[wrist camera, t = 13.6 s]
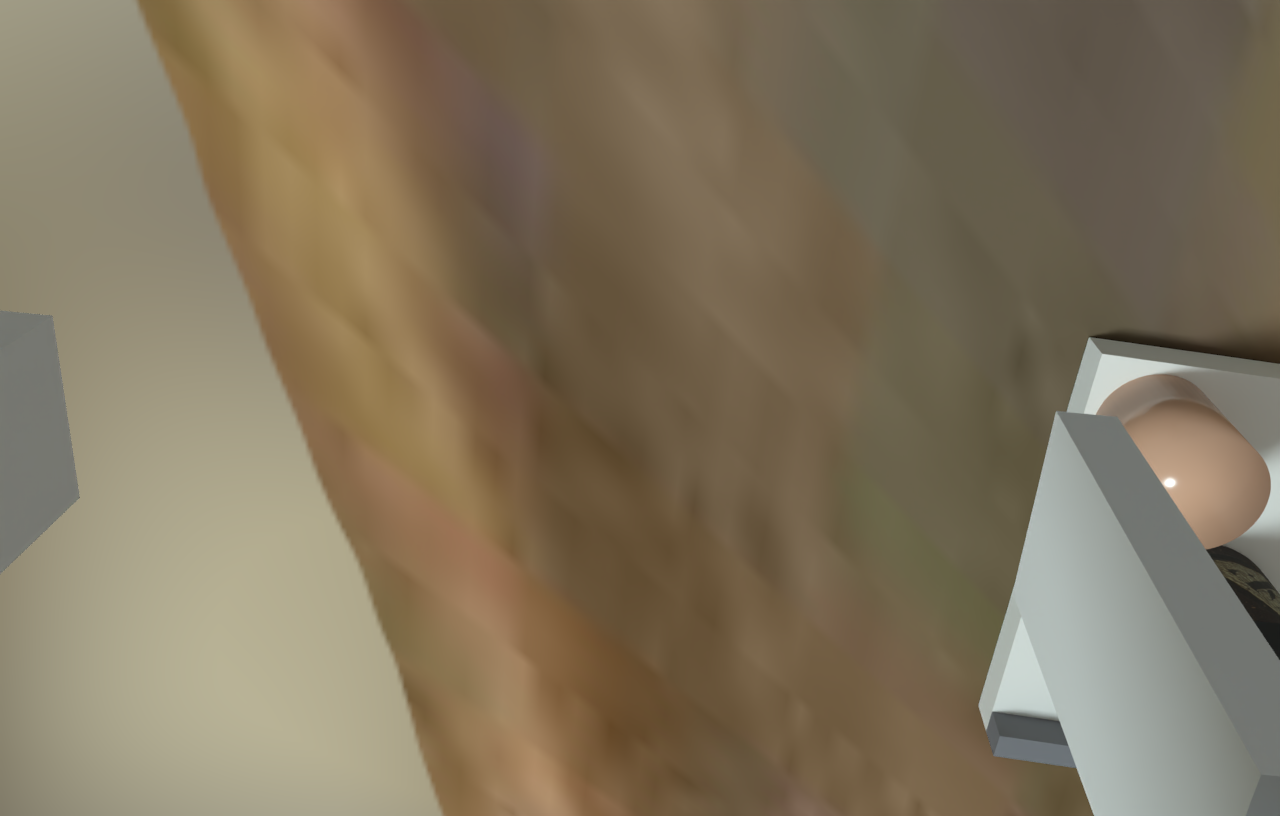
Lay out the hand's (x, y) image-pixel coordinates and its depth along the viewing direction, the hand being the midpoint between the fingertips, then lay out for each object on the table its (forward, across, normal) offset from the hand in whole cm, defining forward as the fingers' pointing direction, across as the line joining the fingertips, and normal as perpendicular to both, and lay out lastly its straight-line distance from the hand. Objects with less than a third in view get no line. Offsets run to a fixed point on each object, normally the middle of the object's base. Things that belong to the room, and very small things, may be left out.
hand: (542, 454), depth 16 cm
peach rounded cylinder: (+34, +22, -14) cm, 42 cm away
